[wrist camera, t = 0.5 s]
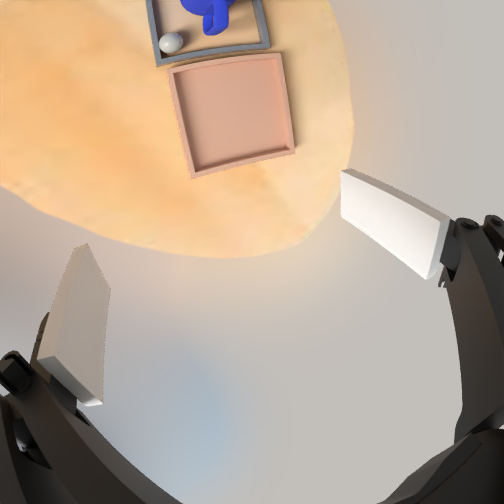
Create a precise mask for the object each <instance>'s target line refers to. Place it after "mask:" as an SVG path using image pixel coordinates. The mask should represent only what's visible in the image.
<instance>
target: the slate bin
mask: <svg viewBox="0 0 504 504" xmlns="http://www.w3.org/2000/svg"><path fill="white" fill-rule="evenodd" d="M145 1H146V8H147V14H148V21H149V27H150V33H151V39H152V44H153V50H154V55H155V60H156V65H157V67H159V66H163V65H167V64H171V63H176V62H180V61H185V60H189V59H194V58H200V57H205V56H211V55H218V54H225V53H233V52H242V51H252V50H266V49H269V48H271V47H270V42H269V36H268V31H267V26H266V21H265V17H264V12H263V7H262V3H261V0H252V3H253V7H254V12H255V17H256V22H257V26H258V32H259V37H260V42H261V44H249V45H238V46H229V47H221V48H214V49H208V50H202V51H196V52H191V53H186V54H181V55H176V56H172V57H168V58H164V59H161V54H160V49H159V43H158V38H157V32H156V26H155V20H154V14H153V8H152V1H151V0H145Z"/></svg>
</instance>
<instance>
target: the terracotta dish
mask: <svg viewBox="0 0 504 504" xmlns="http://www.w3.org/2000/svg"><path fill="white" fill-rule="evenodd" d="M166 75H167V80H168V85H169V90H170V95H171V99H172V104H173V108H174V113H175V117H176V122H177V126H178V131H179V135H180V139H181V143H182V147H183V152H184V156H185V160H186V164H187V168H188V172H189V176H190V178H191V179H194V178H197V177H201V176H204V175H208V174H211V173H215V172H219V171H222V170H226V169H230V168H234V167H238V166H242V165H246V164H250V163H254V162H258V161H263V160H267V159H272V158H276V157H281V156H286V155H291V154H295V147H294V139H293V131H292V124H291V116H290V109H289V102H288V96H287V89H286V83H285V77H284V71H283V65H282V59H281V53H269V54H256V55H245V56H236V57H228V58H221V59H215V60H209V61H203V62H198V63H192V64H188V65H183V66H178V67H174V68H170V69H166Z"/></svg>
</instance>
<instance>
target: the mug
mask: <svg viewBox="0 0 504 504" xmlns="http://www.w3.org/2000/svg"><path fill="white" fill-rule="evenodd" d="M180 1H181V4H182V5H183V7H184V8H185V9H186V10H187V11H189V12H191V13H193V14H196V15H200V16H204V17H203V31H204V34H206V35H217V34H219V33H221V32H222V31H223V30H225V29H226V28H227V27H228V24H229V14H228V7H229V6H230V5H231V4H233V3H234V2H235V1H236V0H180ZM213 16H214V25H213Z"/></svg>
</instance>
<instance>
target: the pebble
mask: <svg viewBox="0 0 504 504" xmlns="http://www.w3.org/2000/svg"><path fill="white" fill-rule="evenodd" d="M182 45H183V38H182V37H181V35H180V34H178V33H175V32H169V33H166V34H165V35H163V36H162V37H161V39H160V41H159V47H160V49H161V50H162V51H163V52H165V53H174V52H176V51H178V50H179V49H180V48H181V47H182Z"/></svg>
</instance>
